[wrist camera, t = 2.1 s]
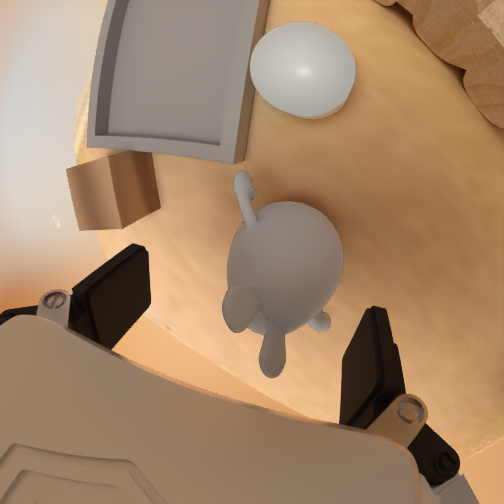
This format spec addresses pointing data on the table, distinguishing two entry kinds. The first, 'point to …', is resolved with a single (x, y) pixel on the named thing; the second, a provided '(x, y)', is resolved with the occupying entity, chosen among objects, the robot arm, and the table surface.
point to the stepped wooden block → (466, 45)
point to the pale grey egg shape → (303, 70)
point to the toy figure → (280, 272)
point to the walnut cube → (113, 190)
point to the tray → (175, 77)
